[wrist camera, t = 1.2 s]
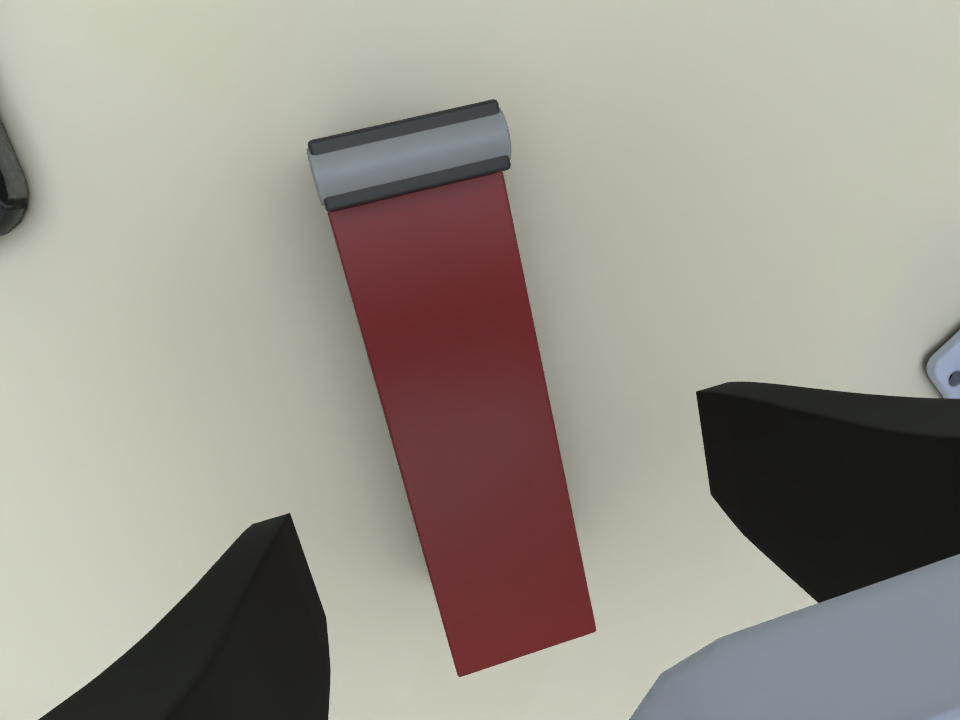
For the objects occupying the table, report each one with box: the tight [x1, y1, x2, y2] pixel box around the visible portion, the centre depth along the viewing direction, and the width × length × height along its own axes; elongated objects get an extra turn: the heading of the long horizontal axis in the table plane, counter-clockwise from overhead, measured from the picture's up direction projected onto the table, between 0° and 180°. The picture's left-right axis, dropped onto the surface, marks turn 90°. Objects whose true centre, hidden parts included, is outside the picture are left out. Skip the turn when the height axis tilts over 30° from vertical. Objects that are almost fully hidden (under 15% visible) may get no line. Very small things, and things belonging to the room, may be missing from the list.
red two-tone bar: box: [307, 99, 596, 677], centre depth 17 cm, size 13×4×6 cm, turn 13°
